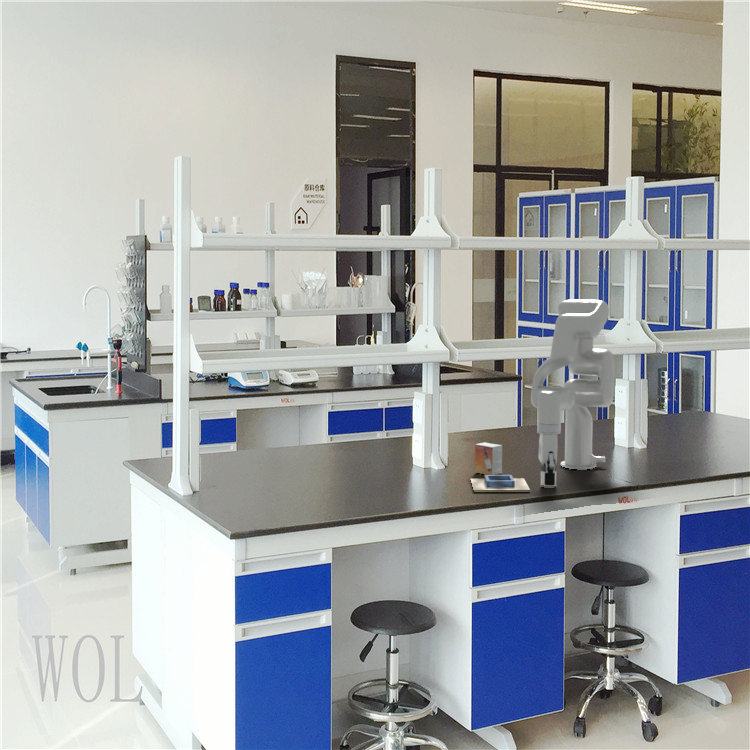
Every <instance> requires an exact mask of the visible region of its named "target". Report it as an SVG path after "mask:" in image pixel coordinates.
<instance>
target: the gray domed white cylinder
mask: <svg viewBox="0 0 750 750" xmlns="http://www.w3.org/2000/svg"><path fill="white" fill-rule="evenodd" d="M554 468H555V485H545V473H546V466H545V464H544V465H543V464H541V465H540V486H541V485H544V486H556V487H557V464H554Z"/></svg>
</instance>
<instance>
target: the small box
mask: <svg viewBox="0 0 750 750" xmlns="http://www.w3.org/2000/svg"><path fill="white" fill-rule="evenodd" d="M475 472H478V473H483V474H489V475H495V474H498V473H502V474H503V445H502V444H496V443H489V442H485V441H484V442H480V443H476V444H474V473H475Z"/></svg>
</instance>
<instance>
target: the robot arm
mask: <svg viewBox="0 0 750 750" xmlns="http://www.w3.org/2000/svg"><path fill="white" fill-rule="evenodd" d="M557 311H558V317H557V318H556V320H555V324H554V330H553V331H554V332H553V337H552V344H551V350H550V355H549V356H548V358H547V359H545V360H544V361H543V363H542V364H541V365H540V366H539V367H538V368H537V370H536V372H535V374H534V376H533V379H532V385H531V391H530V402H531V403H530V404H531V405H532V407H534V408H536V409H537V413H536V414H537V420H536V421H537V424H536V425H537V429H536V430H537V431H536V433H537V434H539V439H538V460H539V462H540V464H541V465H544V464H545V466H546V473H545V485H555V468H554V465H557V463H558V435H560V434H561V433H562V432H561V431H562V429H561V428H562V426H561V425H562V422H561V421H562V411H564V413H565V417H564V418H565V419H564V422H565V423H564V425H565V428H564V429H565V430H564V431H565V432H564V433H565V435H564V460H563V461H560V465H561V466H562V467H561V466H560V465H559V466H560V467H561V468H563V467H565V468H569V469H568V470H571V469H577V470H576V471H588V470H587V469H590V470H594V469H596V468H597V463H606V459H607V458H606V456H599V455H598V456H596V455H594V454H593V416H592V413H591V411H590V410H589V409H588V407H593V408H608V407H610V406H611V405H612V403H613V401H614V392H615V358H614V355H613V352H611V350H608V349H606V348H594V339H596V338H597V337H598V336H599V335H600V333H601V332H602V329H603V328H604V326H605V325H606V323H607V321H608V318H609V315H610V314H609V313H610V309H609V305H608V303H607V302H606V301H604V300H600V299H565V300H562V301H560V302H559V304H558V307H557ZM567 366H568V370H569V372H570V373H571V374H573V375H576V376H589V377H590V376H592V377H598V378H599V379H591V378H572V379H568V380H567V381H566V382H565V383H564V384H563V387H560V386H559V387H558V386H545V385H544V384H545V380H546V379H547V377H548V376H550V375H551V374H552V373H554V372H555V371H557V370H560V369H562V368H565V367H567ZM595 467H596V468H595ZM565 468H564V469H565ZM593 468H594V469H593Z"/></svg>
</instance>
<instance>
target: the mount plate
mask: <svg viewBox="0 0 750 750" xmlns="http://www.w3.org/2000/svg"><path fill="white" fill-rule="evenodd" d="M470 480H471V482H470V484H471V483H472V486H471V488H472V487H473V489H472V491H473V490H530V491H531V489H530V487H529V485H528V483H527V482H526V480H525V478H523V477H522V478H521V477H519V478H517V477H515V478H514V477H513V475H512V474H502V475H484V478H470V479H469V481H470Z"/></svg>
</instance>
